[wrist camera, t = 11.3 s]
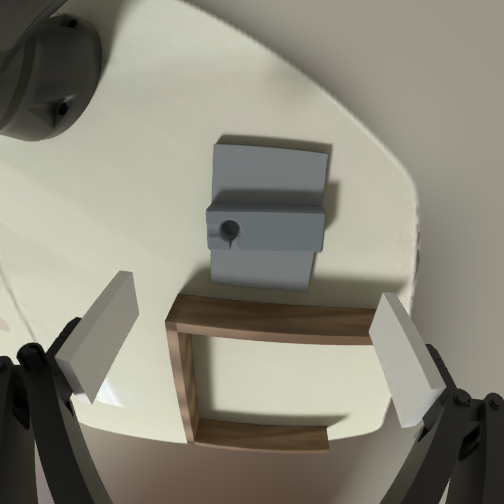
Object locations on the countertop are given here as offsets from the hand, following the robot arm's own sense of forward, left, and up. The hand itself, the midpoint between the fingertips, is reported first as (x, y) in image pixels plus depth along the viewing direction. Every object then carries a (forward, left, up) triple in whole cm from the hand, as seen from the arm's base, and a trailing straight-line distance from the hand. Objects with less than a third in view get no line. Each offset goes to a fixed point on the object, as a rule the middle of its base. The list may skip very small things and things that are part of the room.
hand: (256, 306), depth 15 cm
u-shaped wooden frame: (+23, +3, -15) cm, 28 cm away
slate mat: (0, 0, -15) cm, 15 cm away
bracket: (0, 0, -14) cm, 14 cm away
